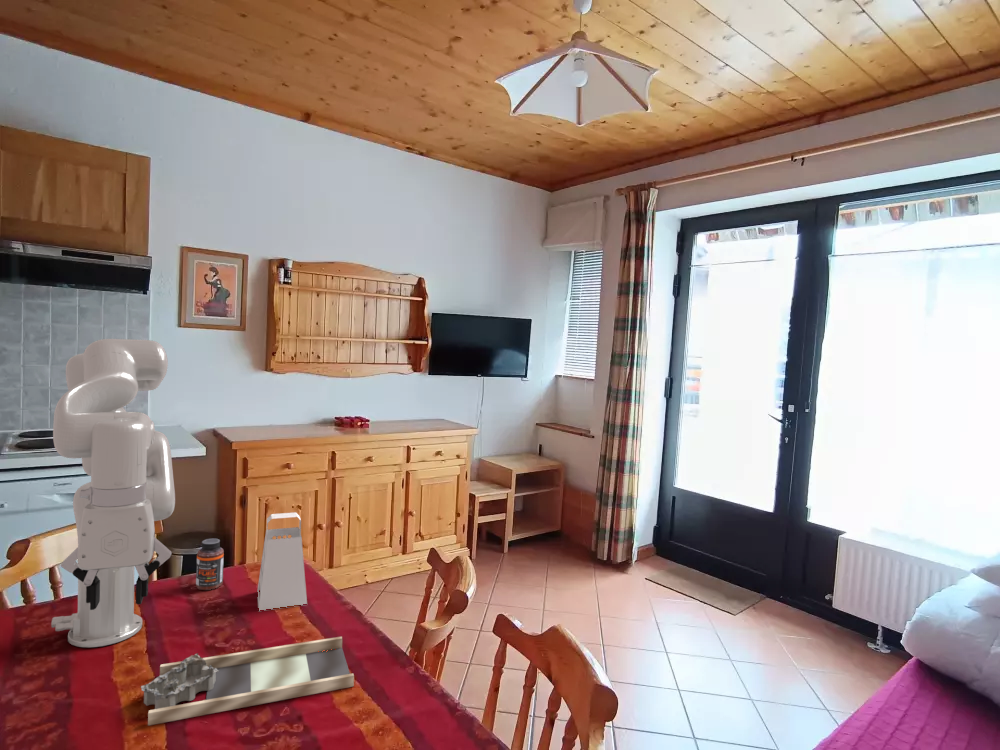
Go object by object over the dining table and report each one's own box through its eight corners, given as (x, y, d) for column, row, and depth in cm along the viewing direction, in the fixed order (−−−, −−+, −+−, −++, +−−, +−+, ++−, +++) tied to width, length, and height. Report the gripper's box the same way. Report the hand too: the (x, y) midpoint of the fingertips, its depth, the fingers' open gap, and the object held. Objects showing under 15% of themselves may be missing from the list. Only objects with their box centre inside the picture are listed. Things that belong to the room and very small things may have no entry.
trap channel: (148, 725, 92) (148, 713, 92) (160, 675, 105) (160, 664, 105) (353, 686, 105) (354, 675, 104) (341, 646, 118) (341, 636, 118)
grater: (257, 592, 140) (259, 510, 139) (302, 586, 145) (305, 507, 144) (258, 611, 131) (260, 524, 130) (307, 604, 135) (309, 520, 134)
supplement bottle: (194, 592, 138) (195, 546, 138) (196, 582, 144) (197, 538, 143) (222, 589, 141) (223, 543, 140) (223, 579, 146) (224, 535, 146)
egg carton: (199, 672, 107) (200, 650, 106) (222, 687, 102) (223, 664, 102) (137, 700, 98) (137, 677, 97) (159, 718, 93) (159, 693, 93)
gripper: (46, 505, 87) (46, 621, 88) (176, 497, 94) (174, 606, 95) (61, 492, 94) (60, 600, 95) (181, 486, 101) (179, 587, 102)
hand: (117, 602), depth 95 cm, fingers open, 5 cm apart
